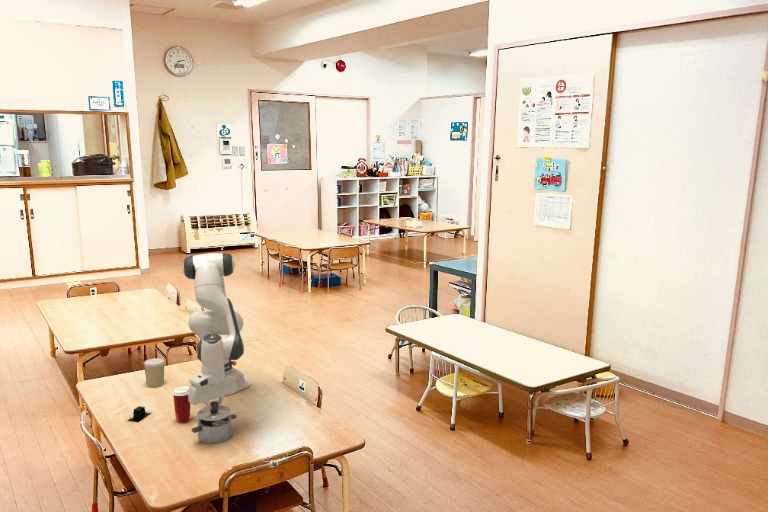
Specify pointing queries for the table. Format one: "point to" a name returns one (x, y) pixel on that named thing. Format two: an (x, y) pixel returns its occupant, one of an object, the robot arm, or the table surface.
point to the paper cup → (181, 404)
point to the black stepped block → (139, 414)
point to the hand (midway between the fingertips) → (214, 408)
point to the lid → (214, 412)
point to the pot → (214, 430)
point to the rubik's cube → (218, 422)
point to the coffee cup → (154, 372)
